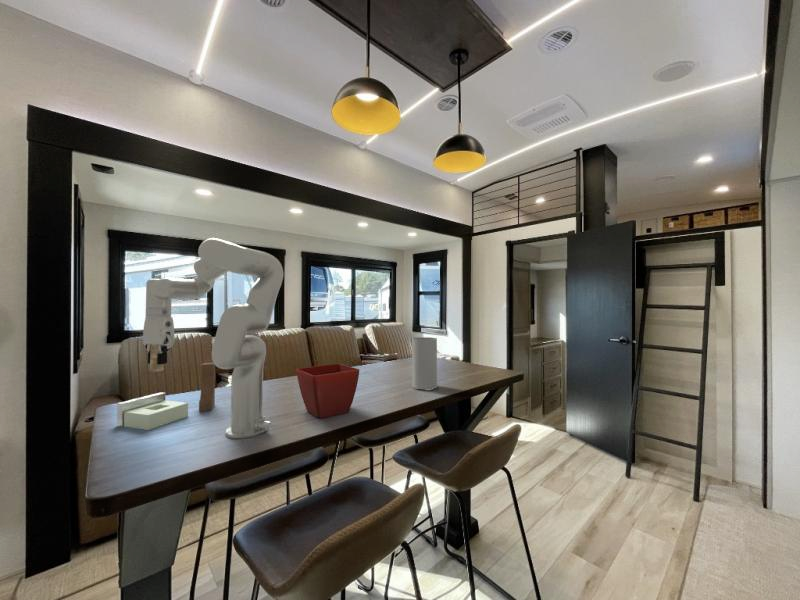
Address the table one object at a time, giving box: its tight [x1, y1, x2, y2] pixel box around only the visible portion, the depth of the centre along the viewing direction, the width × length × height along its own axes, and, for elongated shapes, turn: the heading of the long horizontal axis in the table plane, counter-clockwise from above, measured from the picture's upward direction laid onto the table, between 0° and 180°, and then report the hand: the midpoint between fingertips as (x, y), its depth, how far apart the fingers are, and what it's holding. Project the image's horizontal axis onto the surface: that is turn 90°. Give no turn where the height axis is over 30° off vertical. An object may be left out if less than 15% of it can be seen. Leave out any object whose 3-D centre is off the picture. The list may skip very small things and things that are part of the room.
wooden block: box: [198, 362, 216, 413], centre depth 132 cm, size 9×4×18 cm, turn 24°
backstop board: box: [116, 392, 166, 428], centre depth 119 cm, size 2×15×8 cm, turn 163°
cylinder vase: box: [411, 336, 438, 390], centre depth 165 cm, size 12×12×25 cm
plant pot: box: [295, 363, 360, 419], centre depth 128 cm, size 19×19×17 cm
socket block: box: [123, 400, 189, 431], centre depth 117 cm, size 12×14×5 cm
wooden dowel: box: [149, 343, 165, 373], centre depth 118 cm, size 4×4×10 cm
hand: (157, 363), depth 118 cm, fingers closed on wooden dowel, 4 cm apart
